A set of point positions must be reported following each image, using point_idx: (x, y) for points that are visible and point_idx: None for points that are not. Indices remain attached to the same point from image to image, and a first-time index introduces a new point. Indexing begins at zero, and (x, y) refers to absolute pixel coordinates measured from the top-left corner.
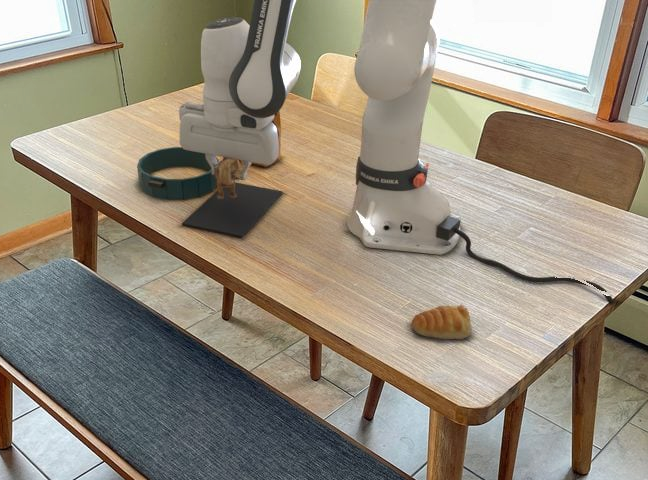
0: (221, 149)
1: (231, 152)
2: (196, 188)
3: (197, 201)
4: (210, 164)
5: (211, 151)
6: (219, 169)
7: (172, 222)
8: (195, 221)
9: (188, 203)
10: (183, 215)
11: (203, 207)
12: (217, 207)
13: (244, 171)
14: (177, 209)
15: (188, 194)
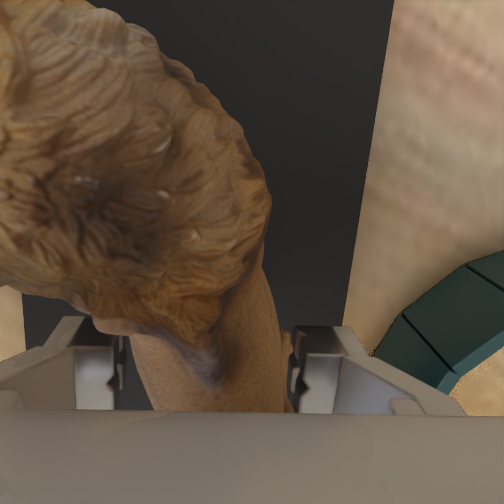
0: (268, 484)
1: (90, 468)
2: (429, 327)
3: (394, 270)
4: (383, 367)
5: (417, 437)
6: (132, 35)
7: (454, 7)
8: (329, 24)
9: (431, 237)
10: (419, 107)
11: (340, 198)
12: (270, 223)
13: (22, 354)
14: (466, 160)
15: (454, 288)
